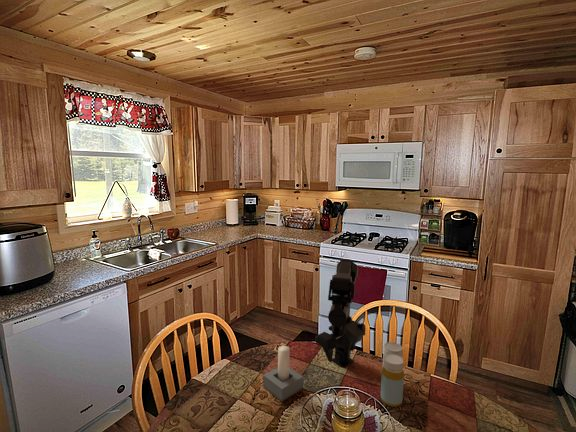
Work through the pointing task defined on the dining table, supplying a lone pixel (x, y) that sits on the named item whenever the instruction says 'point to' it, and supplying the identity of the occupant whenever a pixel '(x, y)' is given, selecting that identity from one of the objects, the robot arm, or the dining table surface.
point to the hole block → (282, 384)
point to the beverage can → (392, 350)
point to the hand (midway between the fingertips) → (338, 356)
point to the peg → (283, 363)
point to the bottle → (392, 380)
